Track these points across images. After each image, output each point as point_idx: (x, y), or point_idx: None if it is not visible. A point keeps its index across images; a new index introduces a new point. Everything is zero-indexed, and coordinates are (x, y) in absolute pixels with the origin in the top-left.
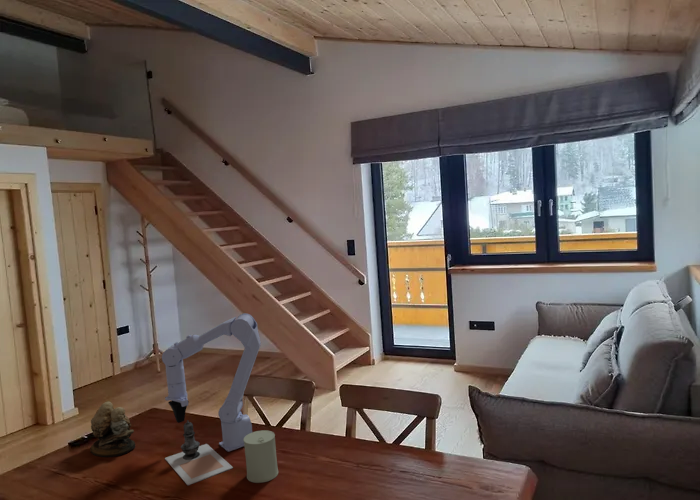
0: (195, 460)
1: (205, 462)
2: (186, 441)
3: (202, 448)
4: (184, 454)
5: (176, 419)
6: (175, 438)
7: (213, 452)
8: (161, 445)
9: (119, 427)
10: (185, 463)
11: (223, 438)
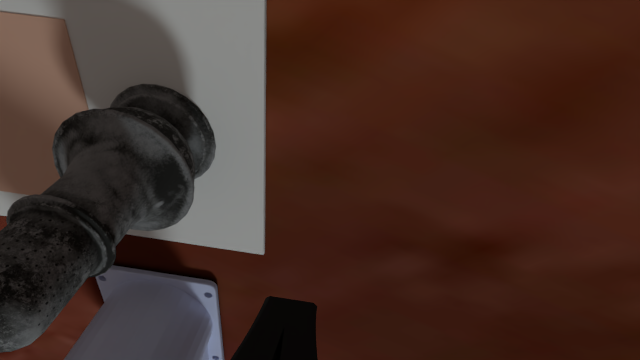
0: None
1: (19, 146)
2: (67, 173)
3: (219, 217)
4: (213, 117)
5: (272, 328)
6: (538, 193)
7: None
8: (540, 77)
9: None
10: (68, 61)
11: (129, 316)
